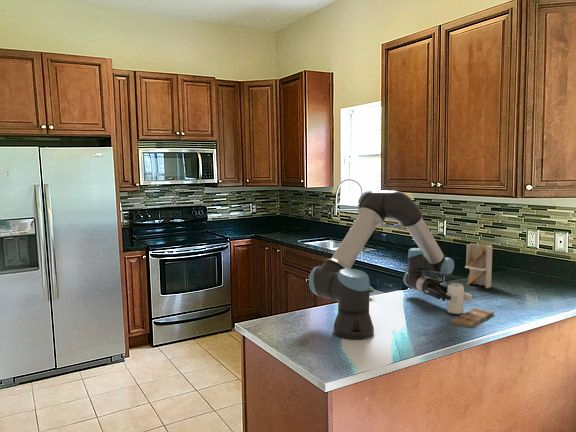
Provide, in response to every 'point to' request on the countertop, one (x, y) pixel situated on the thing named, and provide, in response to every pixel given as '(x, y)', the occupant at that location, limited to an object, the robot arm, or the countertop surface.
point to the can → (457, 291)
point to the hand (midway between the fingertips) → (464, 299)
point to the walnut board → (472, 317)
